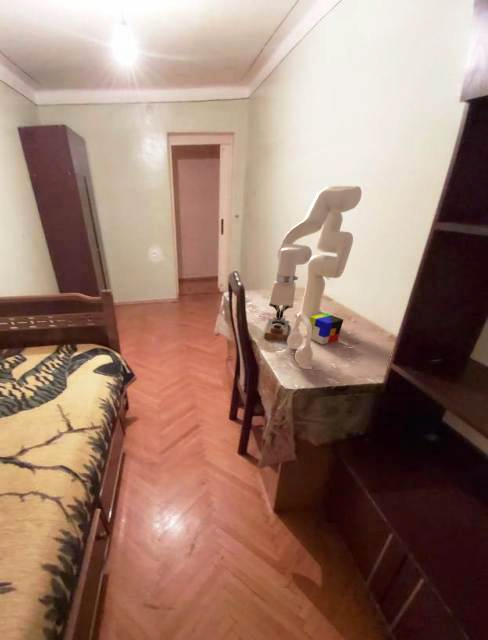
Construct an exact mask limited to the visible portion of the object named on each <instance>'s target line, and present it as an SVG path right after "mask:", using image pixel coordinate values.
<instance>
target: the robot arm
mask: <svg viewBox="0 0 488 640" xmlns="http://www.w3.org/2000/svg"><path fill="white" fill-rule="evenodd" d="M362 195H363V194H362V188H361V187H360V186H359V185H330V186H326V187H325V188H323V189H321V190H319V191H318V192H317V193H316V195H315V197H314V199H313V200H312V202H311V204H310V206H309V208H308V210H307V212H306V214H305V216H304V219H303V220H302V221H301V222H298V224H296V225H294V226H293V227H292V228H291V229H290V230H289V231H288V232H286V234H285V235H284V237H283V239H282V240H281V243H280V245H279V248H278V250H277V259H278V263H277V264H278V265H277V272H276V279H275V280H274V281H273V285H272V288H271V294H270V301H269V304H268V306H269V307H271V308H274V310H275V311H276V314H275V317H276V318H277V320H281V318H284V312H286V311H287V310H288V309H293V308H294V301H295V295H296V281H298V280H299V279H298V278H299V277H298V276H296V271H297V266H301V265H305V264H307V273H306V274H307V275H306V282H305V287H304V292H303V296H302V297H303V298H302V301H301V302H302V303H301V306H300V311H299V312H298V313H296V318H297V317H298V315H301V314H304V315H306V316H307V318H308V319H309V320H310V317H311V316H315V315H320V314H324V313H327V314H329V312H326V311H324V310H321V306H322V302H323V301H322V300H323V297H324V292H325V289H326V281H325V278H331V279H338V278H340V277H341V276H343V273H344V271H345V269H346V267H347V262H348V260H349V256H350V255H351V254H350V253H351V251H352V247H353V243H354V236H353V233H351V232H349V231H342V230H341V227H342V224H343V215H342V213H347V212H349V211H350V210H353V209H355V208H356V207H357V206H358V205H359V203H360V201H361V199H362ZM318 232H319V235H318V237H317V238H318V239H317V243H316V249H317V251H320V252H323V253H330V254H336V256H334V255H326V254H313V252H312V249H311V247H310V246H308V245H303V244H297V243H296V241H297V240H299V239H302V238H304V237H307V236H310V235H313V234H315V233H318ZM294 243H296V244H294ZM312 255H313V256H312ZM280 306H282V308H281V309H280ZM279 316H280V317H279Z"/></svg>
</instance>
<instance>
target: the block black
mask: <svg viewBox="0 0 488 640" xmlns="http://www.w3.org/2000/svg"><path fill="white" fill-rule="evenodd" d="M275 323H279V324H281V325H284V327H288V328H289V324H290V320H286V317H283V319H282V321H276V316H273V318H269V319H268V323H267V325H269V326H271V325H272V324H275Z"/></svg>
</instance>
